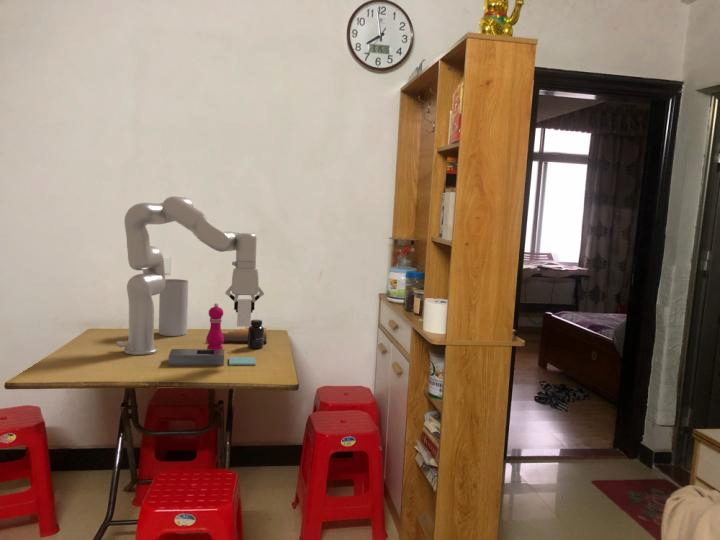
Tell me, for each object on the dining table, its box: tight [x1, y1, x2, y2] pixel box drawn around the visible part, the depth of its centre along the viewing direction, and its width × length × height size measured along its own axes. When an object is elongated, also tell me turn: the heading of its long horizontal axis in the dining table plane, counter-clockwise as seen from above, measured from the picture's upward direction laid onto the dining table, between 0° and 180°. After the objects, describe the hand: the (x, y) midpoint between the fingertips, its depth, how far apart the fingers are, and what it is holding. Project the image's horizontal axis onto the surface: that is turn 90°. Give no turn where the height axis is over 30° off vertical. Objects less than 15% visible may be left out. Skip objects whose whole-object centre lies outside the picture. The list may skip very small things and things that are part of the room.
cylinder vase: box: [158, 278, 189, 337], centre depth 269 cm, size 12×12×25 cm
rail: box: [168, 348, 225, 367], centre depth 223 cm, size 20×10×4 cm, turn 102°
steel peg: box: [236, 298, 252, 328], centre depth 225 cm, size 5×5×10 cm
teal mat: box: [228, 356, 257, 367], centre depth 227 cm, size 10×10×1 cm
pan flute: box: [222, 327, 268, 345], centre depth 270 cm, size 25×3×25 cm
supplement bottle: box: [246, 319, 265, 350], centre depth 252 cm, size 7×7×12 cm
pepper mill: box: [206, 303, 224, 349], centre depth 243 cm, size 7×7×20 cm
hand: (244, 311), depth 225 cm, fingers closed on steel peg, 5 cm apart
